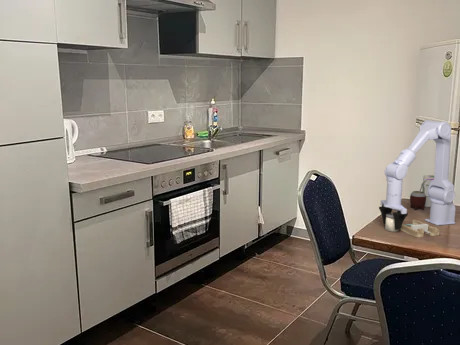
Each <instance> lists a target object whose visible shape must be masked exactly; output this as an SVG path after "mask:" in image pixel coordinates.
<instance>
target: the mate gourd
mask: <svg viewBox="0 0 460 345" xmlns="http://www.w3.org/2000/svg"><path fill="white" fill-rule="evenodd" d="M426 181H427V180H426ZM426 181H424V182H423V181H422V183H421V184H420V188H419V190H414V191H412V192H411V193H410V196H409V202H410V209H414V211H417V210H421V211H424V210H425V202H426V195H425V193H424V192H422V188H423V185H424V183H425V182H426Z"/></svg>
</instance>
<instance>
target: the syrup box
mask: <svg viewBox="0 0 460 345" xmlns="http://www.w3.org/2000/svg"><path fill="white" fill-rule="evenodd" d="M426 180H427V181H426ZM433 180H434V174H433V175H431V174H428V175H427V174H425V175H424V174H423V176H422V183H423V182H424V181H426V182H425V183H424V185H423V186H422V189H421V192H424V193H425V195H426V202H425V206H424V208H425V207H426V208H431V201H430V198H429V197H428V195H427V191H428V188H429V183H430V182H431V181H433Z"/></svg>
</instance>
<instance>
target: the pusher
mask: <svg viewBox="0 0 460 345" xmlns="http://www.w3.org/2000/svg"><path fill="white" fill-rule="evenodd" d="M428 225H429V224H428V223H424V224H419V225H410V228H412V229H414V230H416V231H417V229H424V233H427V234H429V235H430V232H429V231H428Z"/></svg>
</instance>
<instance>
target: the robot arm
mask: <svg viewBox="0 0 460 345" xmlns="http://www.w3.org/2000/svg"><path fill="white" fill-rule="evenodd" d="M431 140H433V141H434V142H435V160H434V174H433V176H434V180H433V181H431V182H430V183H429V188H428V191H427V195H428V197H429V198H430V201H431V207H429V218H425V219H424V221H425V222H428V223H431V224H433V225H435V226H445V225H455V224H456V223H457V222H455V218H456V205H455V203H454V201H455V197H456V192H455V185H454V184H453V183H452V181H450V179H449V178H450V176H449V175H450V163H451V162H450V158H451V147H452V146H451V145H452V144H451V142H452V125H451V124H449V122H447V121H438V120H429V119H425V120H424V121H423V122H422V123H421V124H420V126H419V132H418V133H417V135H416V136H415V138H414V139H413V141H412V142H411V144H410V145H409V147H408V148H404V149H403V150H401V151H400V153H399V155H398V156H397V157H396V158H395V159H394V161H393V162H391V163H389V164H388V165H387V166H386V167H385V169H384V175H385V177H386V178H385V180H386V196H385V199H382V200H380V206H378V210H379V211H380V213H381V217H382V222H383V225H385V223H386V214H387V213H393V216H394V222H395V230H398V231H401V230H400V229H401V226H402V224H403V223H404V221H405V219H406V217H408V212H407V211H408V209H407V208H406V207H404V205H402V195H403V193H402V192H403V184H404V183H403V182H404V178H406V177H407V174H408V170H409V167H410V166H411V165H412V163H413V162H414V161H415V160H416V158H417V155H416V154H417V153H418V152H419V150H421V148H422V147H423V146H424V145H425V144H426V143H427V142H428V141H431ZM393 210H394V211H395V212H394V211H393Z"/></svg>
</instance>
